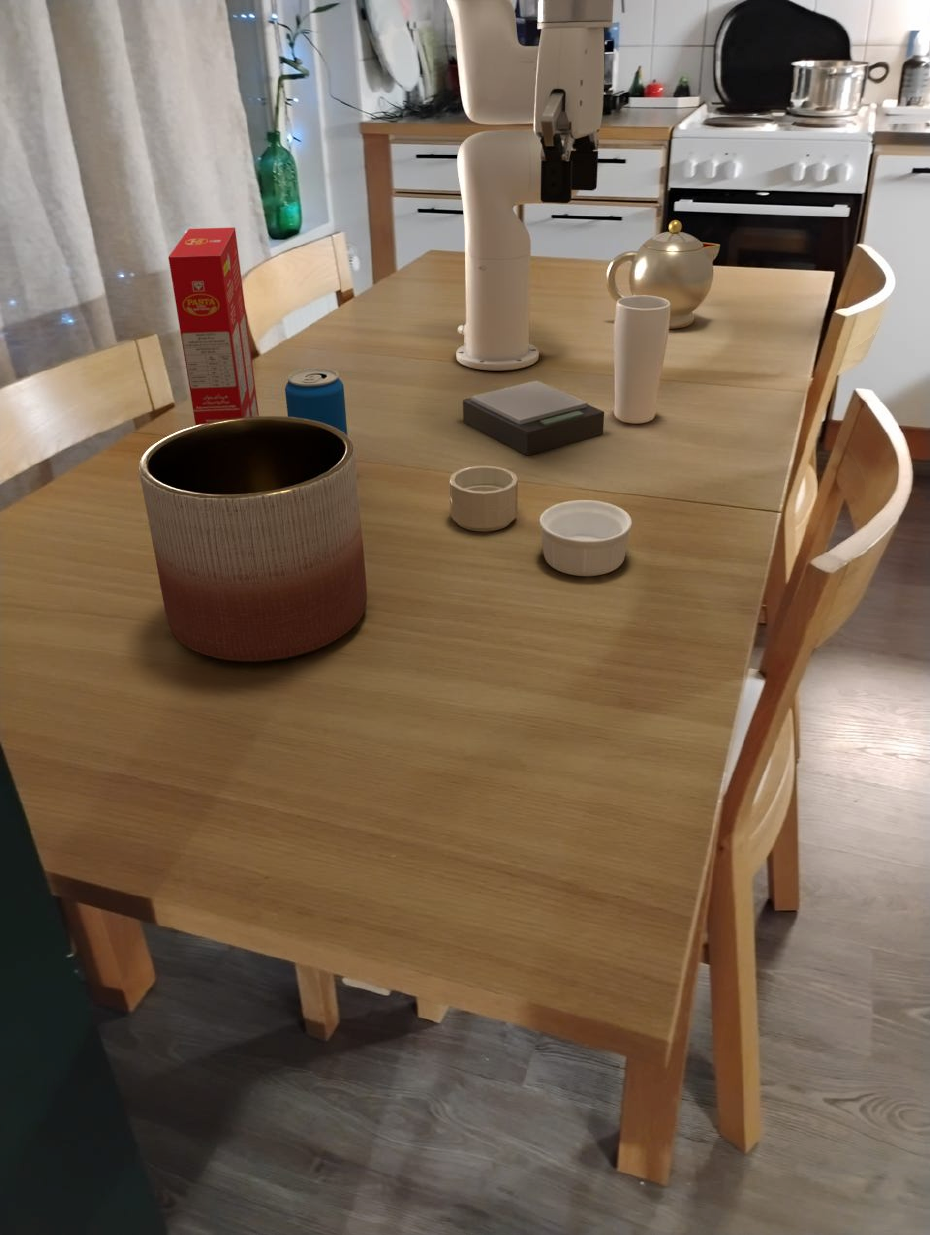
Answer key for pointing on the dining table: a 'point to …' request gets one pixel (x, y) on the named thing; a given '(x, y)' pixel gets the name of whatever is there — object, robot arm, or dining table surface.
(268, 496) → the planter
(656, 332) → the drinking glass
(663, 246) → the teapot
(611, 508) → the ramekin
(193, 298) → the food packaging
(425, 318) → the dining table surface
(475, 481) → the bowl
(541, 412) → the scale
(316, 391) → the beverage can
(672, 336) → the dining table surface
